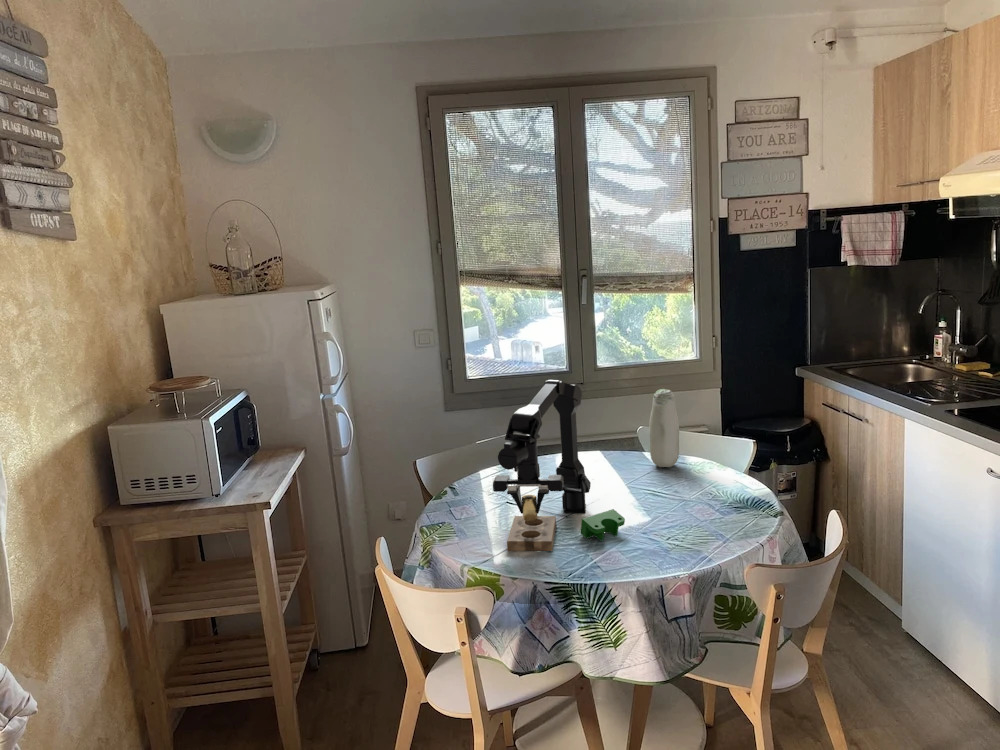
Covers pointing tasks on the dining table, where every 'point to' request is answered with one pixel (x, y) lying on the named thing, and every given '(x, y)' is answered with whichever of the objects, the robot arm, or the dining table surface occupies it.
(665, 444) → the white bottle
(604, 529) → the clamp
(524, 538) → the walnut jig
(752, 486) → the dining table surface
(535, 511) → the brass sleeve
